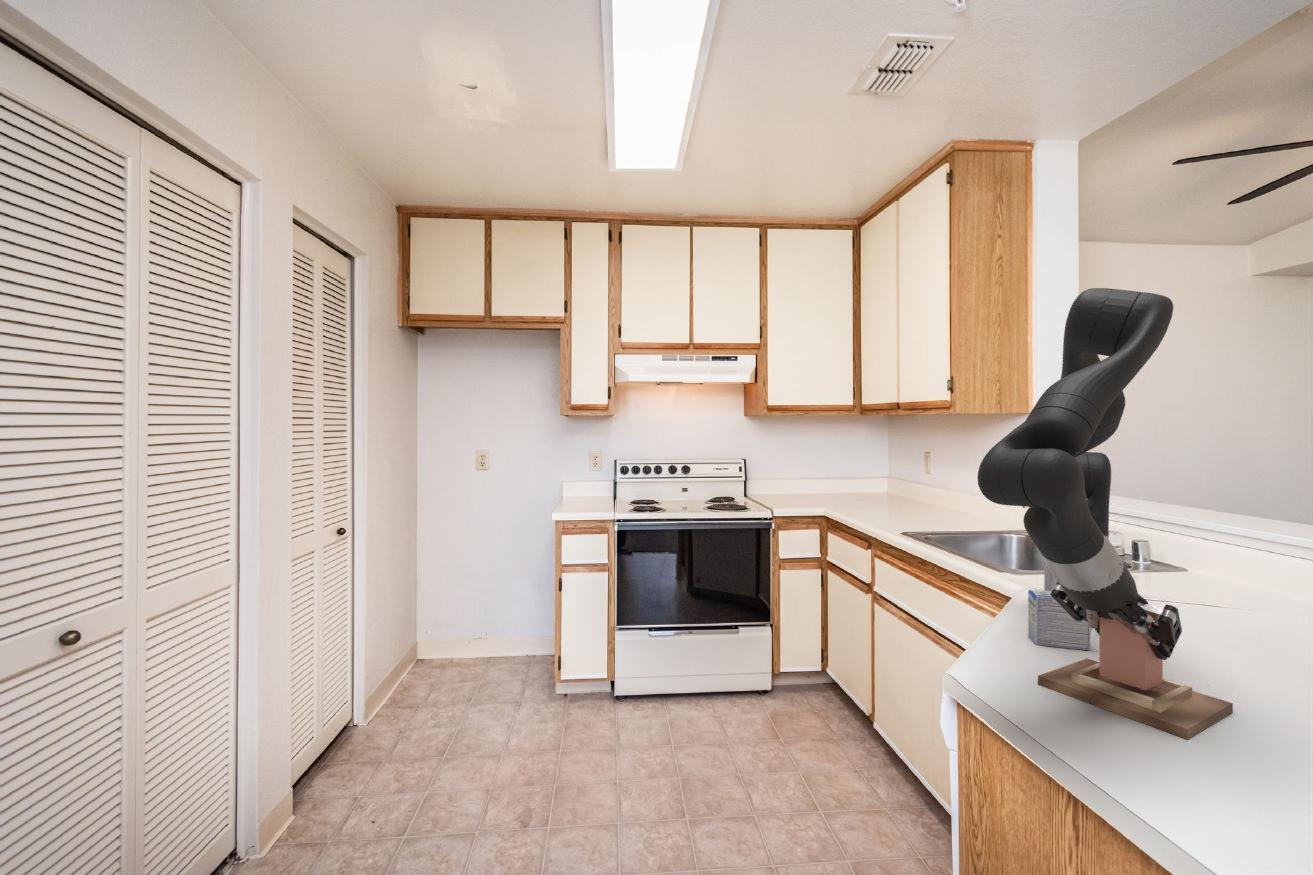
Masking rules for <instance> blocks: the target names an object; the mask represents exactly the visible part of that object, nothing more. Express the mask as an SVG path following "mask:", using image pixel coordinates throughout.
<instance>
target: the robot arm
mask: <svg viewBox="0 0 1313 875" xmlns="http://www.w3.org/2000/svg"><path fill="white" fill-rule="evenodd" d="M1173 313H1174V304H1173V301H1172V299H1171V298H1170V297H1168V296H1165V295H1163V294H1159V293H1158V294H1157V293H1153V292H1144V291H1143V292H1142V291H1136V290H1128V289H1127V290H1126V289H1118V288H1107V287H1091V288H1087V289H1085V290H1083V291H1081V293H1079V295H1077V297H1076V298H1075V299H1074V301H1073V302H1072V304H1071V306H1070V309H1069V311H1068V314H1067V317H1066V321H1065V326H1064V334H1063V344H1062V347H1063V348H1062V364H1061V376H1060V378H1059V379H1057V381H1055V382H1054V383H1052V384H1051V385H1050V386H1049V387H1047V388H1046V390H1044V392H1043V393H1042V395H1041V396H1040V397H1039V399H1038V401H1036V403H1035V405H1034V406H1033V408H1032V410H1031V411H1030V412H1029V414H1028V415H1027V418H1026V419H1025V421H1024V422H1022V423H1021V424H1020V425H1018V426H1016V427H1015V428H1014V429H1012V431H1010V432H1009V433H1008V434H1007V435H1006V436H1003V438H1001V439H1000V441H998V442H997V443H996V444H994V446H993V447H991V448H990V449H989V451H988V452H987V453H986V454H984V457H983V459H982V461H981V462H980V464H979V468H978V472H977V485H978V488H979V490H980V492H981V494H982V495H983V496H984V498H986V499H987V500H988V501H990V502H992V503H994V504H997V505H1003V506H1009V507H1010V506H1013V507H1025V508H1026V507H1028V509H1026V511H1025V513H1024V515H1023V520H1022V521H1023V526H1024V529H1025V531H1026V533H1027V535H1028V537H1029V538H1030V539H1031V541H1032V542H1033V543H1034V545H1035V546H1036V548H1037V550H1038V551H1039V553H1040V554H1041V556H1042V559H1043V560H1044V563H1045V564H1046V566H1047V567H1045V568H1044V570H1043V572H1044V573H1043V574H1044V576H1043V577H1044V580H1043V581H1044V584H1043V585H1044V586H1043V587H1044V588H1043V589H1044V590H1043V591H1052V592H1051V594H1050V595H1051V596H1052V597H1053V598H1054V599H1055V600H1056V601H1057V602H1058V603H1059V604H1060V605H1061V606H1062V608H1063V609H1064V610H1065V611H1066V612H1067V613H1068V614H1069V615H1070V616H1071V617H1072V618H1073V619H1075V620H1076V621H1080V622H1081V621H1082V620H1085V621H1087V623H1088V625H1089V626H1091V628H1093V629H1094V630H1095V631H1096V633H1097V634H1098V636H1099V637H1100V618H1101V617H1102V618H1105V619H1111V620H1115V621H1118V622H1120V623H1121V624H1123V625H1124V626H1125V627H1126V628H1127V629H1128V630H1130V631H1131V632H1132V633H1133V634H1140V635H1141V636H1142V637H1143V638H1144V639H1146V640H1147V641H1148V643H1149V645H1150V647H1151V649H1152V650H1153V652H1154V653H1155V655H1156V656H1157V658H1159V659H1162V660H1163V661H1166V660H1168V659H1170V658H1171V656H1172V653H1173V652H1174V649H1175V647H1176V645H1177V643H1178V641H1179V639H1180V637H1181V635H1182V633H1183V628H1182V623H1181V618H1180V613H1179V609H1178V608H1177V607H1176V606H1174V605H1173V604H1172V605H1171V604H1165V605H1164V607H1163V608H1162V607H1159V606H1154V605H1152V604H1150V603H1149V602H1148V601H1147V599H1145V598H1144V597H1143V596H1141V595H1140V594H1139V592H1138V588H1137V585H1136V581H1135V579H1134V577H1133V575H1132V574H1131V572H1130V570H1129V569H1128V568H1127V566H1126V564H1125V562H1124V561H1123V559H1122V558H1121V556H1120V555H1119V553H1118V551H1117V549H1116V548H1115V547H1114V545H1113V543H1112V542H1111V541H1110V540H1109V539H1110V538H1109V534H1110V531H1109V528H1110V527H1109V526H1110V525H1109V524H1110V523H1109V522H1110V500H1111V498H1110V497H1111V487H1112V486H1111V484H1112V464H1111V461H1110V458H1109V457H1108V456H1107V455H1106V454H1105V453H1103V452H1096V451H1095V452H1091V450H1093V449H1095V448H1096V447H1099V446H1100V445H1101V444H1103V443H1105V442H1106V441H1108V440H1109V439H1110V438H1111V437H1112V436H1113V435H1114V434H1115V433H1116V432H1117V430H1118V428H1119V426H1120V422H1121V420H1122V416H1123V415H1124V411H1125V407H1126V396H1125V394H1124V389H1125V388H1126V387H1127V386H1128V385H1129V384H1130V383H1131V382H1132V381H1133V379H1134V378H1135V377H1136V376H1137V375H1138V374H1139V372H1140V371H1141V370H1142V368H1143V367H1144V366H1145V365H1146V364H1147V362H1148V361H1149V360H1150V358H1151V357H1153V355H1154V353H1155V352H1156V351H1157V349H1158V348H1159V346H1160V345H1161V343H1162V341H1163V339H1164V338H1165V336H1166V334H1167V331H1168V330H1169V329H1168V328H1169V326H1170V324H1171V321H1172V317H1173ZM1099 356H1104V357H1105V356H1106V358H1104V359H1101V358H1100V357H1099ZM1075 605H1077V606H1078V607H1077V608H1076V610H1075V608H1074V606H1075ZM1134 622H1135V623H1134ZM1149 626H1150V627H1151V628H1152V630H1151V632H1149V631H1148V628H1149ZM1167 658H1168V659H1167Z"/></svg>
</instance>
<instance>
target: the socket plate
mask: <svg viewBox="0 0 1313 875" xmlns="http://www.w3.org/2000/svg"><path fill="white" fill-rule="evenodd" d="M1099 669H1100V661H1097V660H1094V659H1092V658H1091V659H1090V658H1084V659H1082V660H1078V661H1075V662H1073V663H1069V664H1067V665H1064V666H1061V667H1059V668H1056V669H1053V670H1050V671H1047V672H1045V673H1042V674H1039V675H1037V685H1039V686H1042V687H1045V688H1048V689H1050V690H1053V691H1055V692H1058V693H1060V694H1063V695H1065V696H1068V697H1072V698H1074V699H1077V700H1080V701H1082V702H1085V703H1088V704H1090V705H1093V706H1096V707H1099V708H1101V709H1104V710H1106V711H1110V712H1112V713H1115V714H1117V715H1119V716H1123V717H1124V718H1128V719H1131V720H1133V721H1137V722H1139V723H1142V724H1144V725H1147V726H1150V727H1152V728H1156V729H1157V730H1160V731H1164V732H1166V733H1168V734H1170V735H1174V736H1177V737H1180V738H1182V739H1185V740H1187V741H1188V740H1189V739H1192V738H1193V737H1195V736H1197V735H1198V734H1200V733H1201V732H1203V731H1205V730H1206V729H1208V728H1210V727H1211V726H1213V725H1214V724H1216V723H1218V722H1219V721H1221V720H1223V719H1225V718H1226V717H1228V716H1229V715H1232V714H1233V713H1234V708H1233V707H1234V704H1233V702H1230V701H1226V700H1224V699H1221V698H1217V697H1214V696H1210V695H1208V694H1204V693H1200V692H1198V691H1194V690H1193V687H1192V686H1189V685H1186V684H1182V683H1179V682H1177V681H1173V680H1171V679H1167V678H1163V683H1161V684H1159V685H1157V686H1154V687H1152V688H1150V689H1147V690H1143V689H1140V688H1137V687H1134V686H1131V685H1128V684H1125V683H1121V682H1118V681H1115V680H1112V679H1109V678H1106V677H1103V676H1100V675H1099Z"/></svg>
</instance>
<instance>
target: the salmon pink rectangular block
mask: <svg viewBox="0 0 1313 875" xmlns="http://www.w3.org/2000/svg"><path fill="white" fill-rule="evenodd" d="M1134 623H1135V622H1134ZM1151 630H1152V628H1151V627H1150V626H1149V628H1148V631H1149V632H1151ZM1099 662H1100V669H1099V675H1100V676H1103V677H1106V678H1109V679H1112V680H1115V681H1118V682H1121V683H1125V684H1128V685H1131V686H1134V687H1137V688H1140V689H1143V690H1147V689H1150V688H1152V687H1154V686H1157V685H1159V684H1161V683H1163V679H1164V676H1163V675H1164V674H1163V673H1164V671H1163V669H1164V668H1163V667H1164V665H1163V664H1164V660H1162V659H1159V658H1157V656H1156V655H1155V653H1154V652H1153V650H1152V649H1151V647H1150V645H1149V643H1148V641H1147V640H1146V639H1144V638H1143V637H1142V636H1141V635H1140V634H1133V633H1132V632H1131V631H1130V630H1128V629H1127V628H1126V627H1125V626H1124V625H1123V624H1121V623H1120V622H1118V621H1115V620H1111V619H1105V618H1102V617H1101V618H1100V636H1099Z"/></svg>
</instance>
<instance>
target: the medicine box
mask: <svg viewBox="0 0 1313 875" xmlns="http://www.w3.org/2000/svg"><path fill="white" fill-rule="evenodd" d="M1051 592H1052V591H1044V590H1040V589H1028V592H1027V594H1028V595H1027V596H1028V597H1027V598H1028V599H1027V601H1028V602H1027V603H1028V604H1027V606H1028V607H1027V608H1028V609H1027V612H1028V614H1027V616H1028V619H1027V621H1028V622H1027V625H1028V626H1027V627H1028V628H1027V632H1028V633H1027V634H1028V635H1027V636H1028V638H1030V640H1031V641H1032V642H1033V643H1034V644H1035V645H1037V646H1038V645H1039V646H1043V647H1045V646H1046V647H1052V648H1053V647H1054V648H1055V647H1056V648H1061V649H1062V648H1065V649H1072V650H1073V649H1074V650H1083V651H1091V650H1092V649H1091V637H1092V636H1091V632H1092V631H1091V628H1092V627H1091V626H1089V625H1088V623H1087V621H1085V620H1082V621H1081V622H1080V621H1076V620H1075V619H1073V618H1072V617H1071V616H1070V615H1069V614H1068V613H1067V612H1066V611H1065V610H1064V609H1063V608H1062V606H1061V605H1060V604H1059V603H1058V602H1057V601H1056V600H1055V599H1054V598H1053V597H1052V596H1051V595H1050V594H1051ZM1077 607H1078V606H1077V605H1075V606H1074V608H1075V610H1076V608H1077Z"/></svg>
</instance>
